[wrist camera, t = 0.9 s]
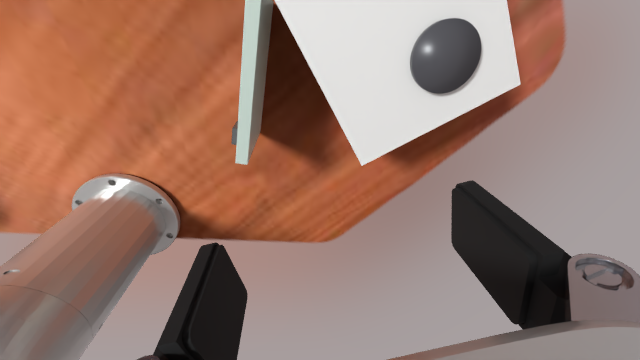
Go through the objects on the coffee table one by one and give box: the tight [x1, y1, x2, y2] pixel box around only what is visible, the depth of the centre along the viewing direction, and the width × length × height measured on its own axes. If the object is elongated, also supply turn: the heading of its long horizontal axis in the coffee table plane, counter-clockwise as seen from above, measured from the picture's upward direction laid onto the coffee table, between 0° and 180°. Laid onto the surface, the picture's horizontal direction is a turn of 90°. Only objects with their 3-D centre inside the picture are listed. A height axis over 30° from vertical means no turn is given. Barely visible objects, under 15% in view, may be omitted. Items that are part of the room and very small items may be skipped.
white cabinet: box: [275, 0, 520, 166], centre depth 23 cm, size 14×16×11 cm
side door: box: [232, 0, 273, 165], centre depth 25 cm, size 2×13×9 cm, turn 169°
